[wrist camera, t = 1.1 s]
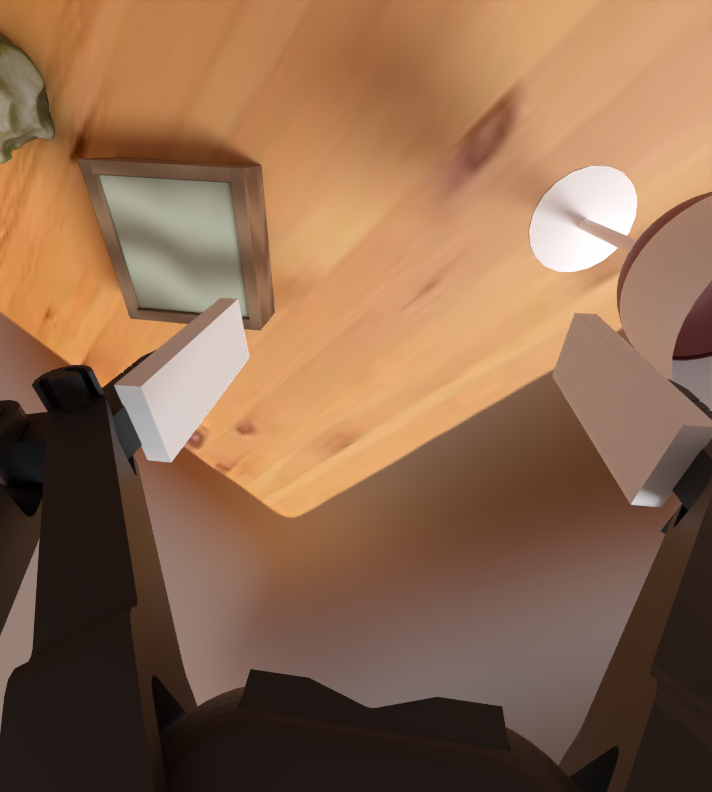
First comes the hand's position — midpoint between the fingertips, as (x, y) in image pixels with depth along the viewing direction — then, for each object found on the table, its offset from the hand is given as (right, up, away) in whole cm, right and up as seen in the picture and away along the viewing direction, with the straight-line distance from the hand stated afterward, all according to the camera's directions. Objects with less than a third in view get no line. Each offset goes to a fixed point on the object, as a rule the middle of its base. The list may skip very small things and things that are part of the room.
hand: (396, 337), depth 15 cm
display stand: (-17, +13, +23) cm, 32 cm away
